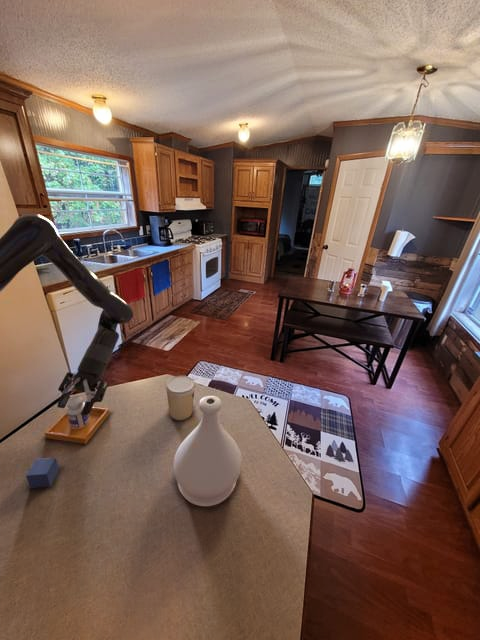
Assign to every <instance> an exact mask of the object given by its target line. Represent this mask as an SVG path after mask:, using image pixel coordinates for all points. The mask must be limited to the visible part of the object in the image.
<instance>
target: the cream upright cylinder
mask: <svg viewBox="0 0 480 640" xmlns="http://www.w3.org/2000/svg"><path fill="white" fill-rule="evenodd" d="M195 388H196V383H195V381H194V380H193V378H191V377H190V376H187V375H177V376H173V377H171V378H170V379H168V381H167V382H166V385H165V390H166V397H167V404H168V411H169V416H170V417H171V418H172V419H174V420H176V421H183V420H186V419H188V418H190V417H191V416H192V414H193V410H194V398H195Z"/></svg>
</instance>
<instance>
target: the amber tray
mask: <svg viewBox="0 0 480 640" xmlns="http://www.w3.org/2000/svg"><path fill="white" fill-rule="evenodd" d="M110 413H111V412H110V408H105V407H97V406H93V407H92V409H91V411H90V413H89V418H90V421H89V423H88V424H87V425H86V426H85V427H83V428H81V429H72V428H71V426H70V423H69V419H68V416H67V411H65V413H63V414H62V415H61V416H60V417H59V418H58V419H57V420H56V421H55V422H54V423H53V424H52V425H51V426H50V427H49V428H48V429H47V430H46V431H44V436H45V438H46V439H50V440H58V441H64V442H71V443H77V444H78V443H79V444H84V445H86V444H87V443H88V442H89V440H90V439H91V438H92V437H93V435H94V434H95V432H96V431H97V430H98V429H99V427H100V426H101V425H102V424H103V422H104V421H106V419H107V417H108V416H109V415H110Z"/></svg>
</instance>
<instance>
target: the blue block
mask: <svg viewBox="0 0 480 640" xmlns="http://www.w3.org/2000/svg"><path fill="white" fill-rule="evenodd" d="M59 470H60V467H59V465H58V461H57V457H46V458H44V457H43V458H35V460H34V462H33V463H32V465H31V467H30V468H29V470H28V471H27V473H26V474H25V478H26V480H27V483H28V486H29V488H30V489H33V488H43V487H51V486H52V484H53V482H54V481H55V478H56V476H57V474H58V473H59Z"/></svg>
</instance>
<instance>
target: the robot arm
mask: <svg viewBox="0 0 480 640" xmlns="http://www.w3.org/2000/svg"><path fill="white" fill-rule="evenodd" d="M42 256H43V257H44V258H46V259H47V260H48V261H49V262H50V263H51V264H52V265H53V266H55V268H57V270H59V272H61V274H62V275H63V276H64V277H65V278H66V279H67V280H68V282H69V284H71V286H73V288H74V289H75V290H76V291H77V292H78V293H79V294H80V295H81V296H82V297H84V298H85V299H86V300H87V301H88V302H89V304H91V305H93V306H94V307H97V308H100V309H102V311H101V313H100V315H99V320H98V322H97V323H98V325H97V330H96V332H95V333H94V336H93V338H92V339H91V342H90V343H89V345H88V347H87V348H86V350H85V353H84V354H83V357H82V358H81V360H80V363H79V365H78V367H77V373H74V372H70V371H68V372H66V374H65V376H64V378H63V379H62V381H61V383H60V384H59V386H58V388H57V390H58V391H59V392H61V395H60V398H59V400H58V402H57V408H59V409H65V408H66V406H67V402H68V401H69V400H70V399H71V398H70V397H71V395H72V394H73V393H75V392H77V391H81V392H84V394H85V395H86V401H85V402H84V403H85V405H84V407H83V410H82V412H81V415H88V414H89V413H90V411H91V409H92V407H94V405H95V403H102V401H103V400H104V397H105V395H106V391H107V389H108V387H109V382H107V381H103V380H101V378H102V377H103V376H104V374H105V372H106V370H107V367H108V365H109V363H110V361H111V359H112V356H113V353H114V351H115V347H116V346H117V343H118V341H119V338H120V334H119V332H118V331H117V328H118V325H126V324H129V323H130V322H131V321H132V320H133V318H134V312H133V309H132V306H130V305H129V304H128V302H126V301H125V300H123V299H122V298H121V297H120V296H118V295H117V294H115V293H114V292H112V291H111V290H110V288H108V286H107V285H106V284H105V283H104V282H103V281H102V280H101V279H100V278H99V277H98V276H97V275H96V274H95V273H94V272H93V271H92V270H91V269H90V268H89V267H88V266H87V265H86V264H84V262H83V261H82V260H81V259H80V258H78V256H76V255H75V253H73V251H72V250H71V249H70V248H69V246H68V245H67V244H66V242H65V241H64V240H63V238H62V237H61V235H60V234H59V233H58V230H57V228H56V226H55V224H54V223H53V221H51V220H50V219H48V218H47V217H45V216H43V215H41V214H38V213H24V214H22V215H19V216H18V217H17V218H16V219H15V221H13V223H12V224H11V225H10V227H9V228H8V230H7V231H5V233H4V234H3V235H2V236H1V237H0V293H1V292H2V291H4V289H6V287H7V286H8V285H10V283H11V282H12V281H13V280H14V279H15V277H16V276H17V275H18V274H19V273H20V272H21V271H23V270H24V269H25V268H26V267H27V266H29V265H31V264H32V263H33V262H34V261H36V260H38V259H39V258H40V257H42Z"/></svg>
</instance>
